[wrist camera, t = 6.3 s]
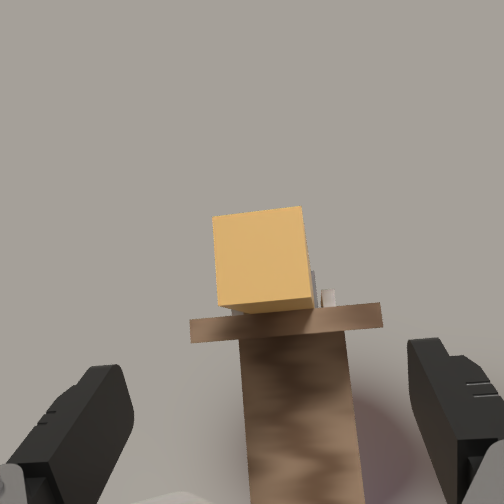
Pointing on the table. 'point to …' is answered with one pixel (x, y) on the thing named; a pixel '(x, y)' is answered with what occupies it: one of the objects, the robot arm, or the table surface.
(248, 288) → the tan rectangular block
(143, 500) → the table surface
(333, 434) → the stand
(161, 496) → the table surface
